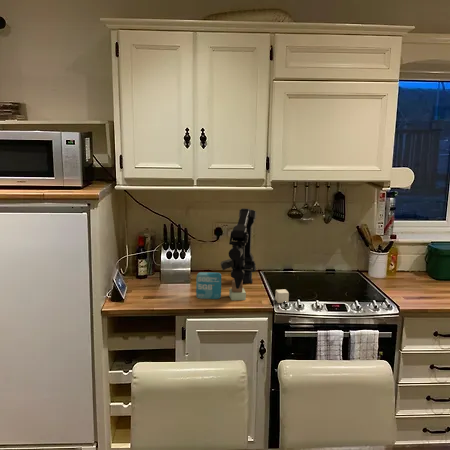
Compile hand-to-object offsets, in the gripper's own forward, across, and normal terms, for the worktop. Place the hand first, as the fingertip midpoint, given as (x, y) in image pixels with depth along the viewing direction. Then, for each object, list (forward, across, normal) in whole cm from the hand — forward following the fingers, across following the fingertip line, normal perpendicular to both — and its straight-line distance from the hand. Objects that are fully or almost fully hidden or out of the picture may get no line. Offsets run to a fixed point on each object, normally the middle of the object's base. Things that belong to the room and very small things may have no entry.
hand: (237, 285), depth 227 cm
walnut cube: (+2, 0, 0) cm, 2 cm away
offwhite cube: (+6, +2, +22) cm, 22 cm away
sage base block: (+6, 0, 0) cm, 6 cm away
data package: (+6, +1, -14) cm, 15 cm away
